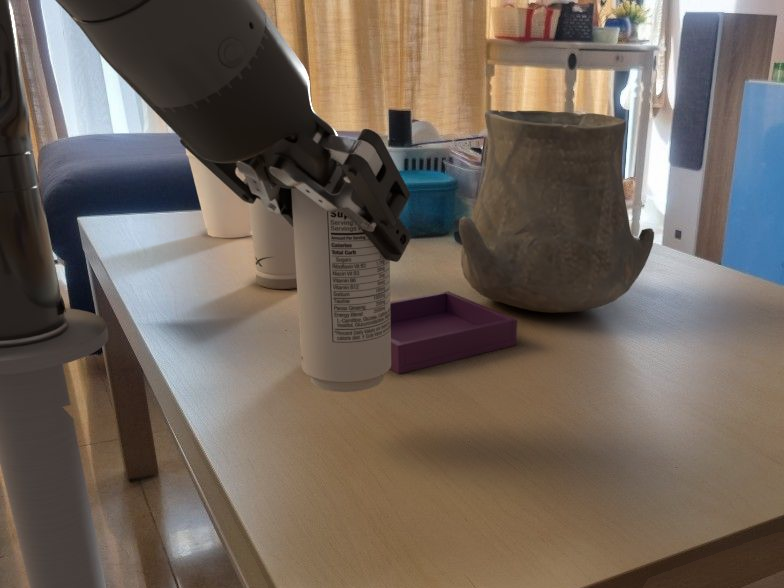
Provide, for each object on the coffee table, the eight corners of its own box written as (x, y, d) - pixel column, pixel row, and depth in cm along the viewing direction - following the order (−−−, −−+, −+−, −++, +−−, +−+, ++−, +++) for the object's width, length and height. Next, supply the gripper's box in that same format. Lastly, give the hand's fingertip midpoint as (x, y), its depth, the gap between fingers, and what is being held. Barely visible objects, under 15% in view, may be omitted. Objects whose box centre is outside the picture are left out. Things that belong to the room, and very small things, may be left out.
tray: (398, 374, 72) (398, 345, 71) (334, 338, 79) (333, 311, 78) (516, 345, 80) (517, 319, 79) (448, 315, 88) (448, 291, 86)
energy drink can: (361, 356, 62) (355, 147, 56) (408, 382, 58) (407, 159, 52) (286, 374, 58) (271, 150, 52) (331, 402, 54) (320, 164, 48)
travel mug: (253, 291, 92) (235, 98, 84) (259, 275, 98) (243, 93, 90) (312, 290, 93) (300, 100, 85) (314, 274, 99) (303, 96, 91)
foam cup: (279, 235, 117) (271, 138, 112) (216, 243, 111) (205, 141, 106) (244, 223, 123) (236, 130, 118) (183, 230, 117) (171, 133, 112)
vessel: (604, 272, 107) (617, 107, 99) (669, 327, 87) (692, 127, 79) (434, 275, 102) (434, 101, 94) (463, 334, 82) (466, 121, 74)
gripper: (342, -7, 39) (473, 212, 54) (137, -16, 45) (304, 183, 60) (266, 117, 37) (424, 310, 52) (61, 90, 43) (254, 270, 58)
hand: (359, 241), depth 56 cm, fingers closed on energy drink can, 6 cm apart
